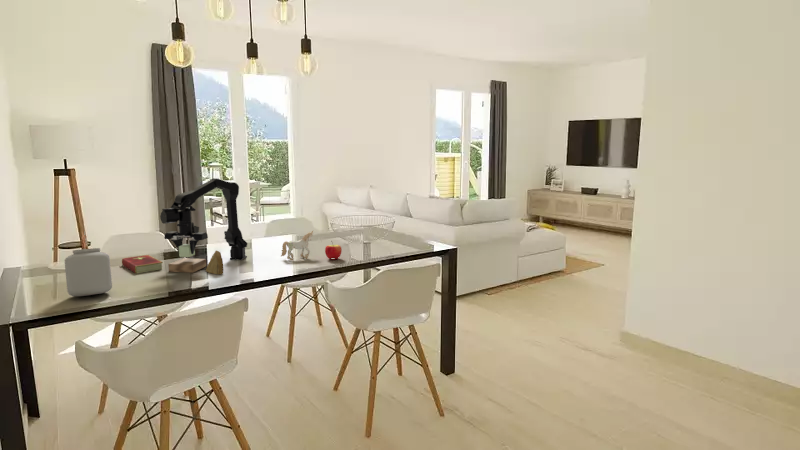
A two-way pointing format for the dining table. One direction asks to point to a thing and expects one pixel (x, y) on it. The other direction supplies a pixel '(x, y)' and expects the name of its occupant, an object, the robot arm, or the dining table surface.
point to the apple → (333, 251)
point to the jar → (88, 272)
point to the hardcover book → (142, 263)
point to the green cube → (185, 251)
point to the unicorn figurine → (297, 246)
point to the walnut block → (187, 265)
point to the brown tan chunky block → (215, 264)
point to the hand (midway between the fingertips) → (187, 253)
